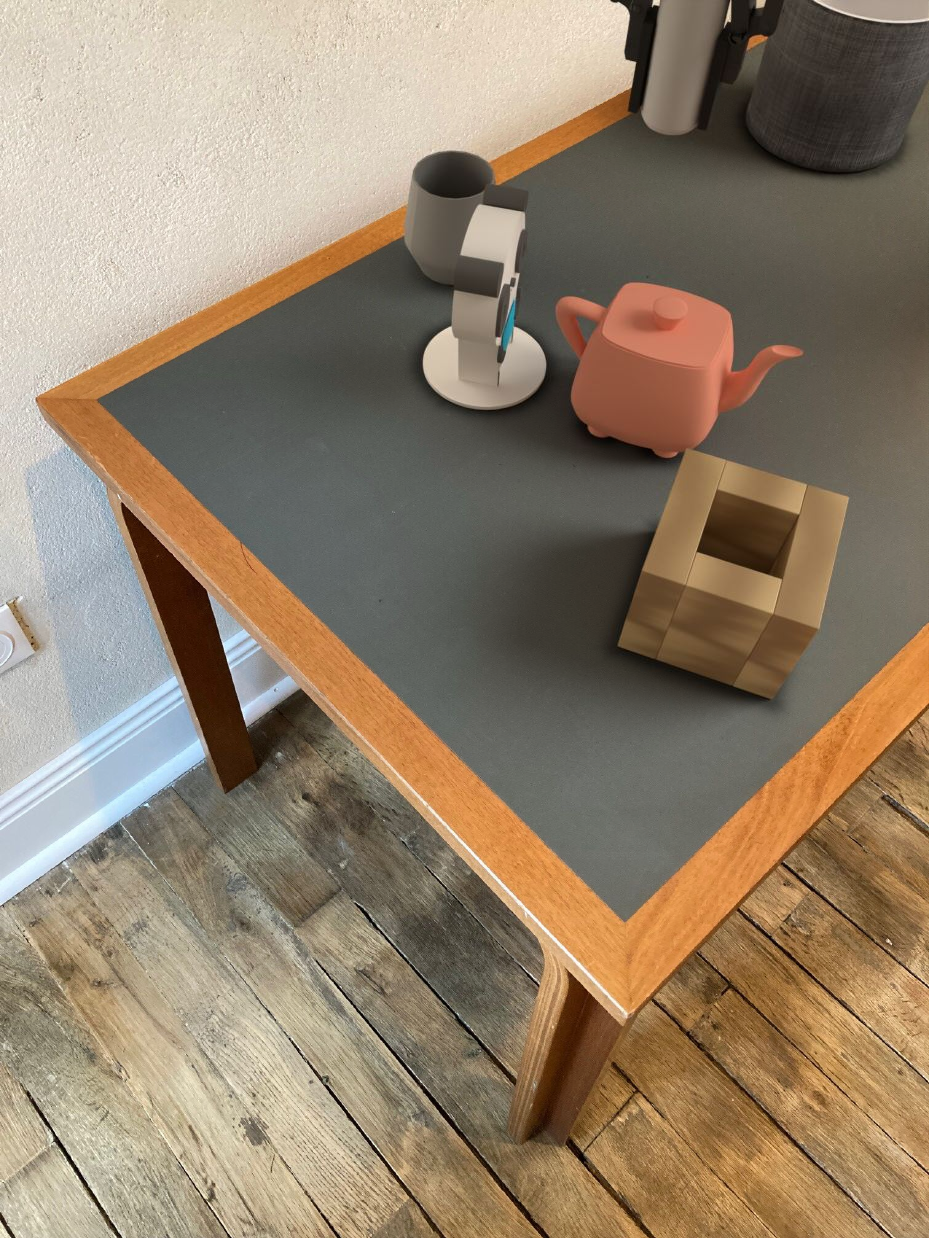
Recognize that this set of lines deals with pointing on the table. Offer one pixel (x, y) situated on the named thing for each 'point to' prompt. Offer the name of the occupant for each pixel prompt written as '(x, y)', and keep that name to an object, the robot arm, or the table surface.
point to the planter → (841, 82)
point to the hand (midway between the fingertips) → (671, 111)
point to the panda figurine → (488, 313)
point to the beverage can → (681, 63)
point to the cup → (443, 209)
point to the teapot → (658, 366)
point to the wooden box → (735, 574)
